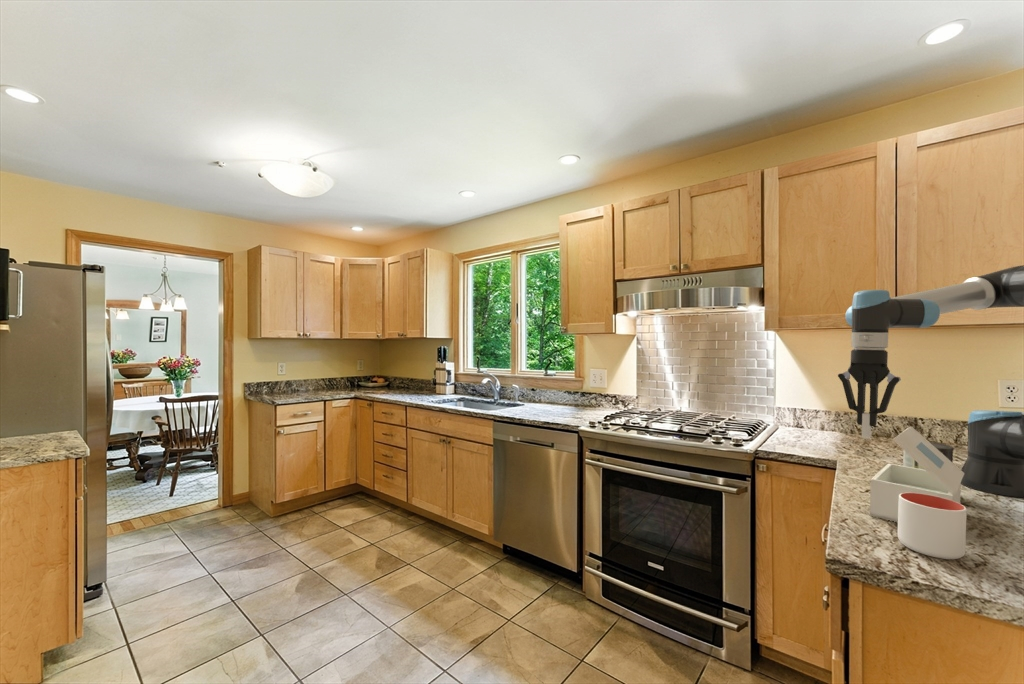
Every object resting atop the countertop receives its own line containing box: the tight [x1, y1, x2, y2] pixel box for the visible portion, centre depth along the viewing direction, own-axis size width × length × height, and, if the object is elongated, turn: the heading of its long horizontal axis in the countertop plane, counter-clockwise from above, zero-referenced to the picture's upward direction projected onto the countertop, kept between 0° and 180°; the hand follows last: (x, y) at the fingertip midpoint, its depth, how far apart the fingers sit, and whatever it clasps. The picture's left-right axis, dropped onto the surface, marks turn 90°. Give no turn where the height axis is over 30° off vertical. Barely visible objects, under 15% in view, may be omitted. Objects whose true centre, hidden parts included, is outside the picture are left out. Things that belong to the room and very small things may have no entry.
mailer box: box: [869, 462, 962, 524], centre depth 107 cm, size 14×22×9 cm, turn 131°
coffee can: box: [902, 441, 955, 470], centre depth 122 cm, size 10×10×14 cm
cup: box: [897, 493, 968, 560], centre depth 89 cm, size 10×10×10 cm
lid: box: [892, 425, 964, 495], centre depth 106 cm, size 14×23×1 cm
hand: (866, 437), depth 115 cm, fingers closed
